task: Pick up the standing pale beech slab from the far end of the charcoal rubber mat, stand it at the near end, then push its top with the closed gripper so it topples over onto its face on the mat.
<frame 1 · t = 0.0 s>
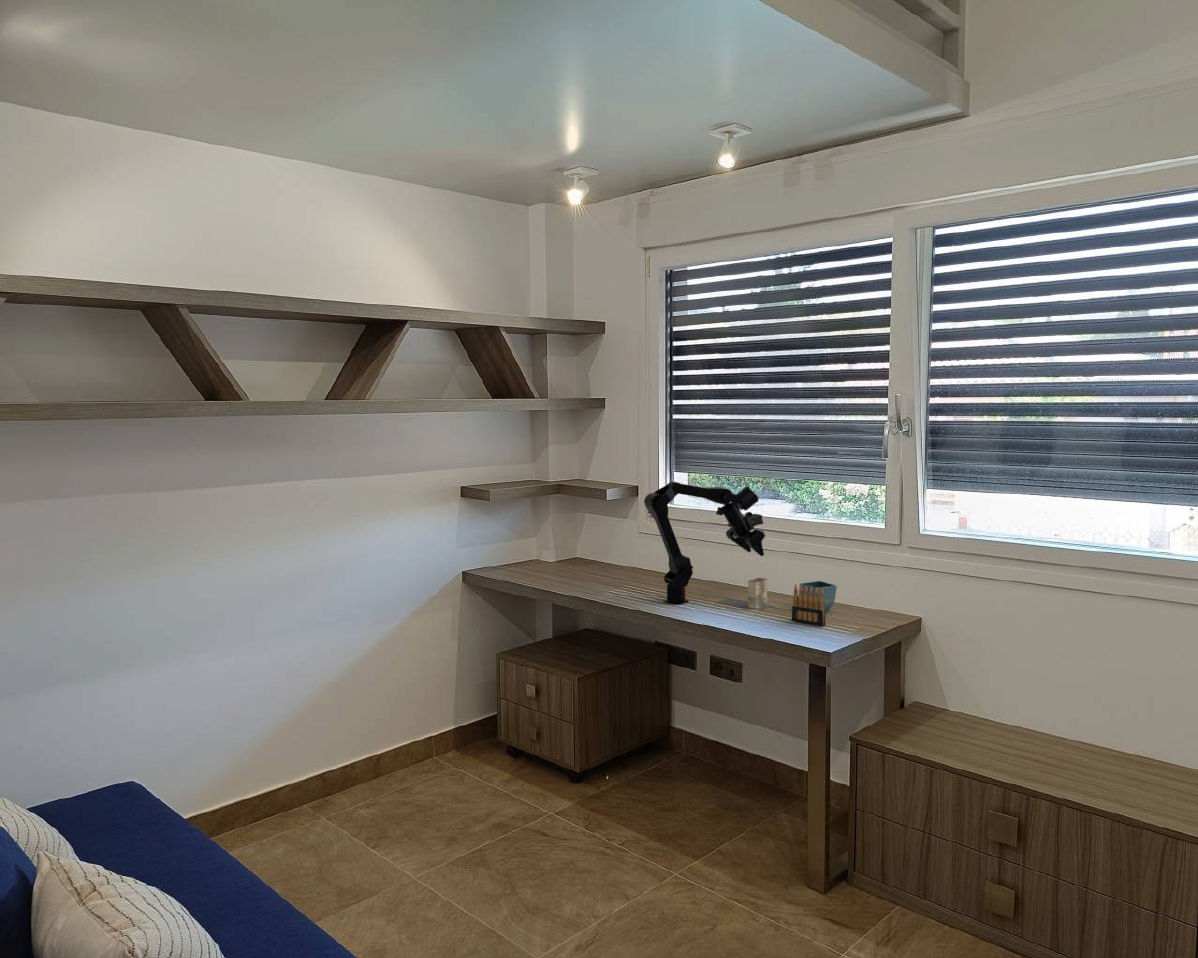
hand: (756, 553, 327), 15 cm above the table, tool tilted 35°, fingers open, 9 cm apart
ammunition clip: (808, 624, 286), on the table
flower pot: (817, 611, 302), on the table
mat: (745, 605, 312), on the table
slab: (757, 606, 308), resting on mat
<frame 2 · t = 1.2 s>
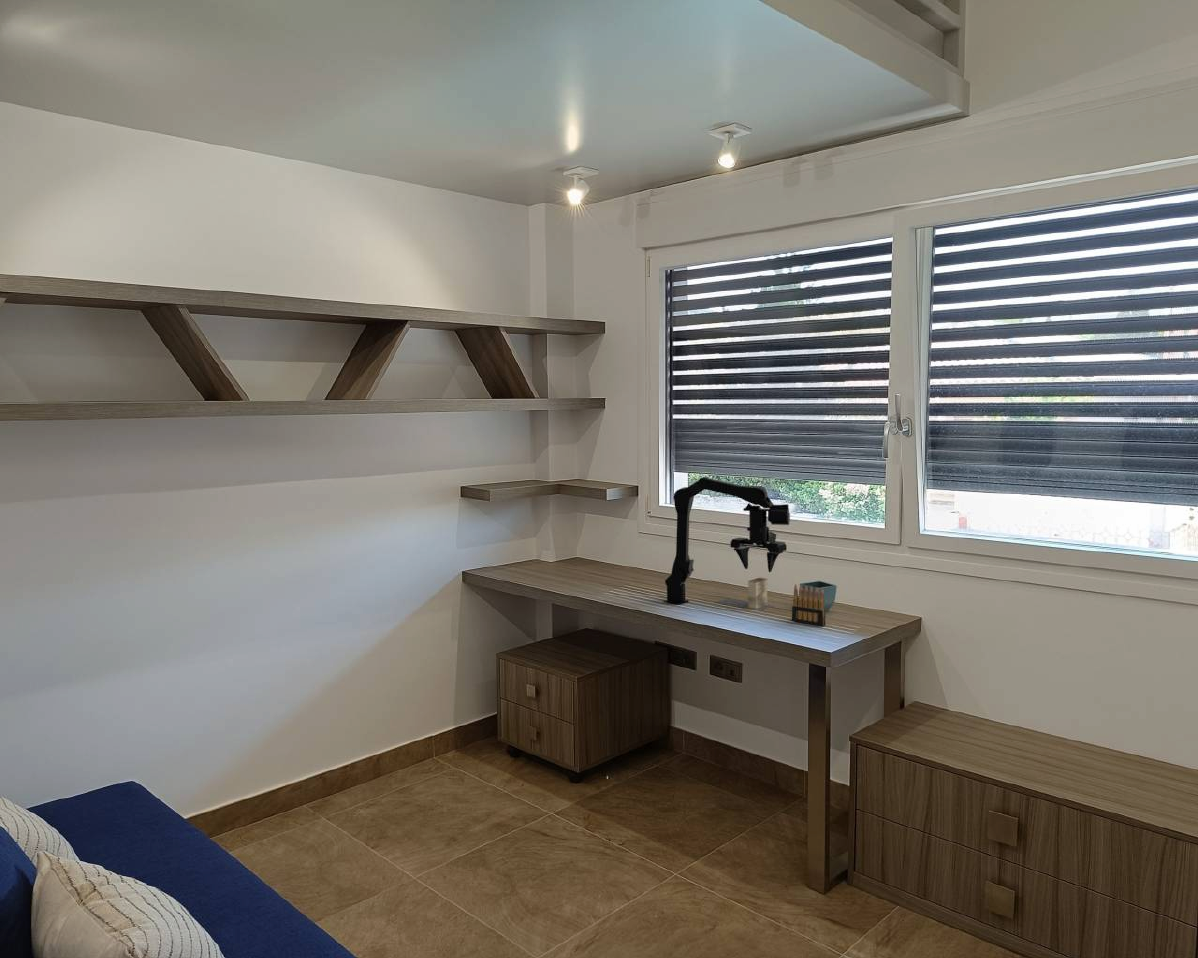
hand: (758, 570, 308), 13 cm above the table, tool pointing down, fingers open, 9 cm apart
nothing on the table moved.
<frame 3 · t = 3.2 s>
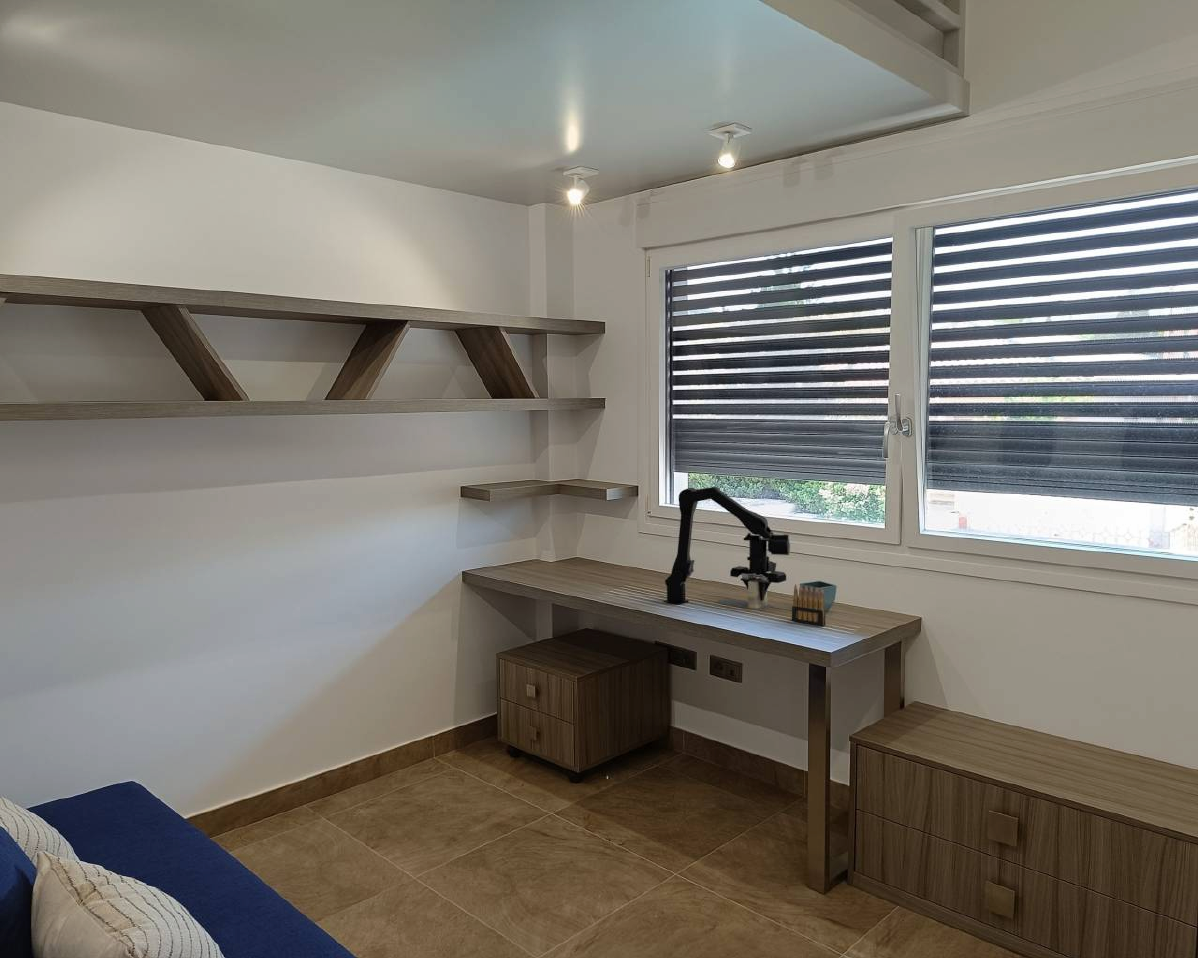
hand: (757, 599, 308), 3 cm above the table, tool pointing down, fingers closed on slab, 3 cm apart
slab: (757, 606, 308), resting on mat, touching gripper
everything else where it was.
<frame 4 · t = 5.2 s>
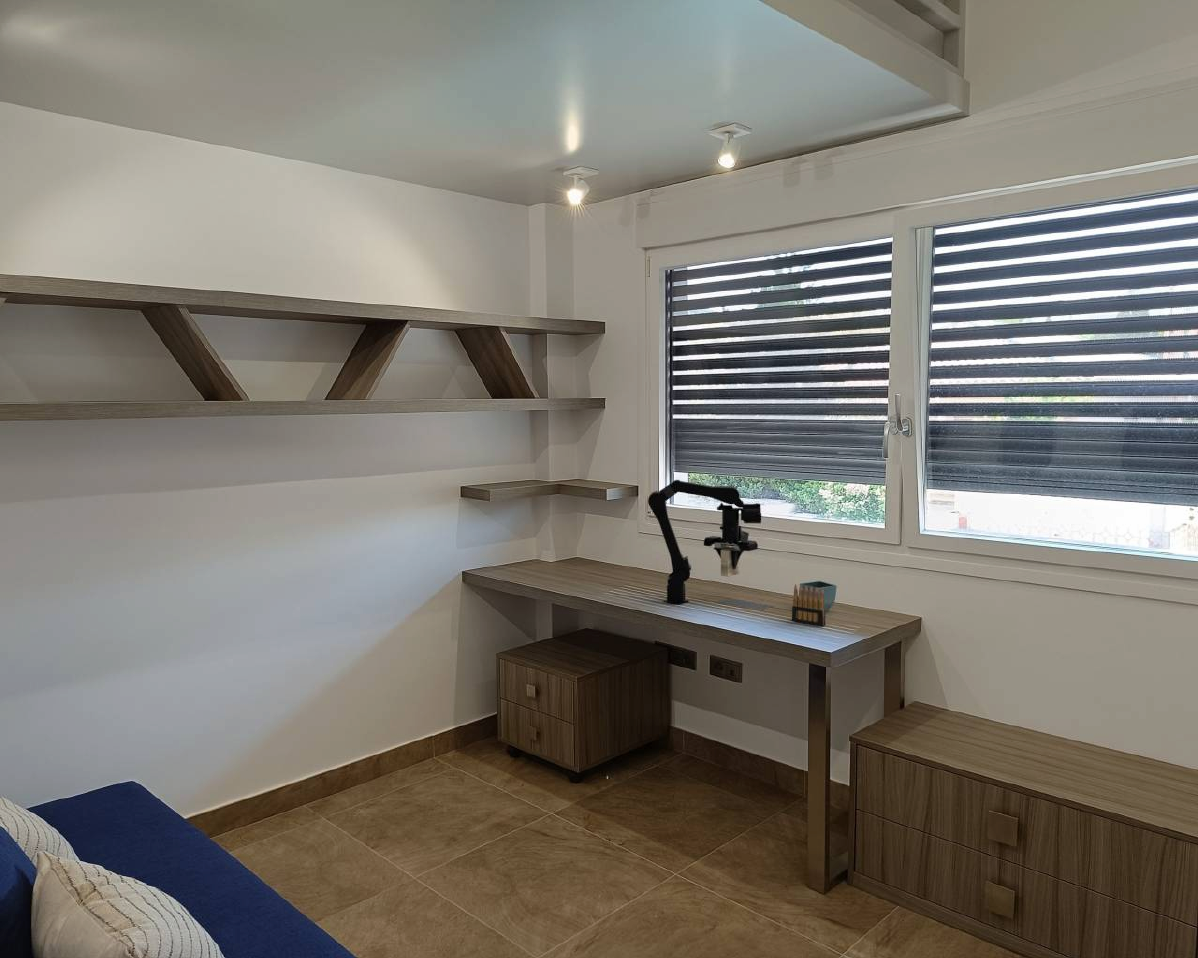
hand: (730, 568, 315), 12 cm above the table, tool pointing down, fingers closed on slab, 3 cm apart
slab: (730, 574, 315), point 10 cm above the table, touching gripper
everything else where it was.
when the fingers open (3 cm above the table, at t = 7.3 s): slab stays where it is, resting on mat.
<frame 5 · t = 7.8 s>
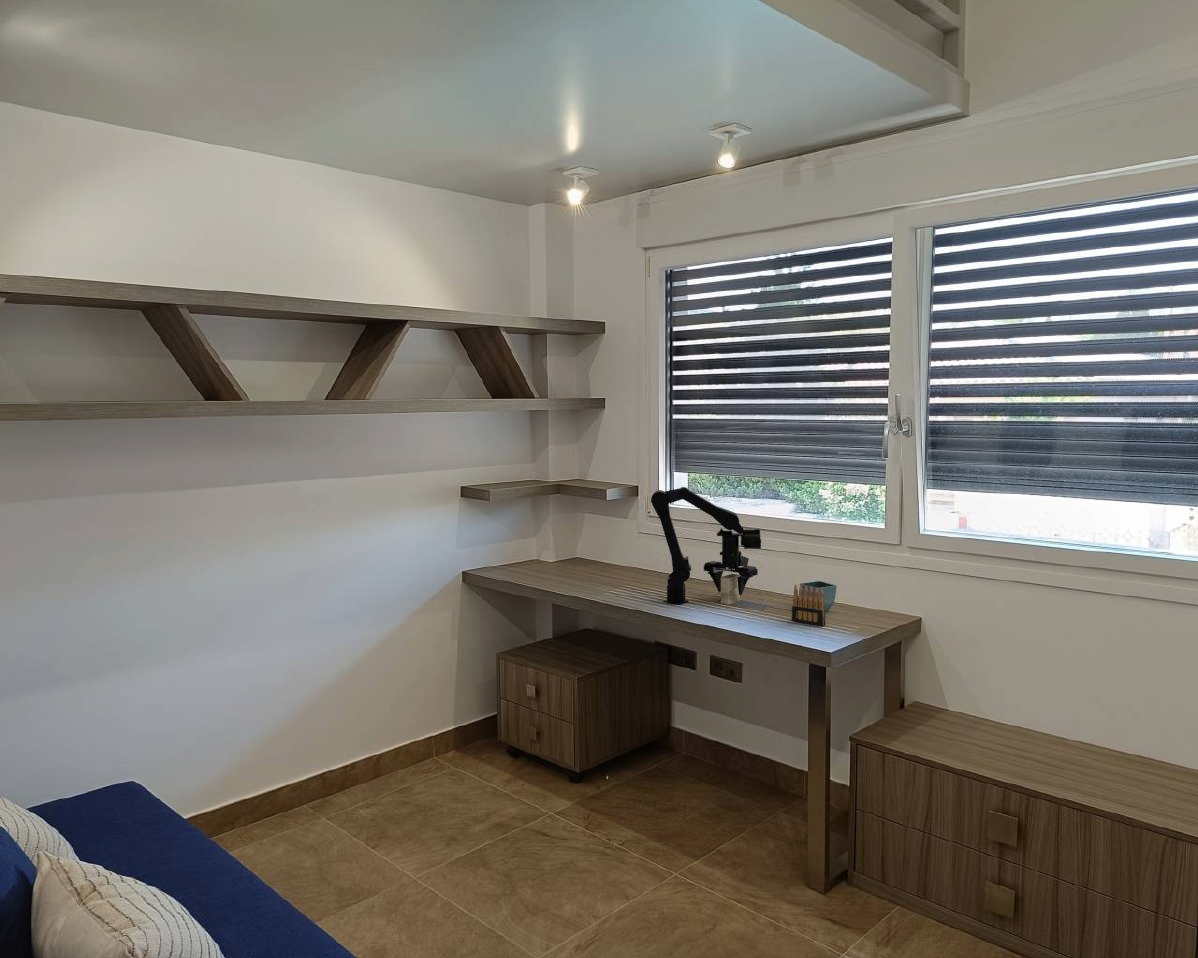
hand: (730, 593, 315), 3 cm above the table, tool pointing down, fingers open, 8 cm apart
slab: (730, 601, 316), resting on mat
everything else where it was.
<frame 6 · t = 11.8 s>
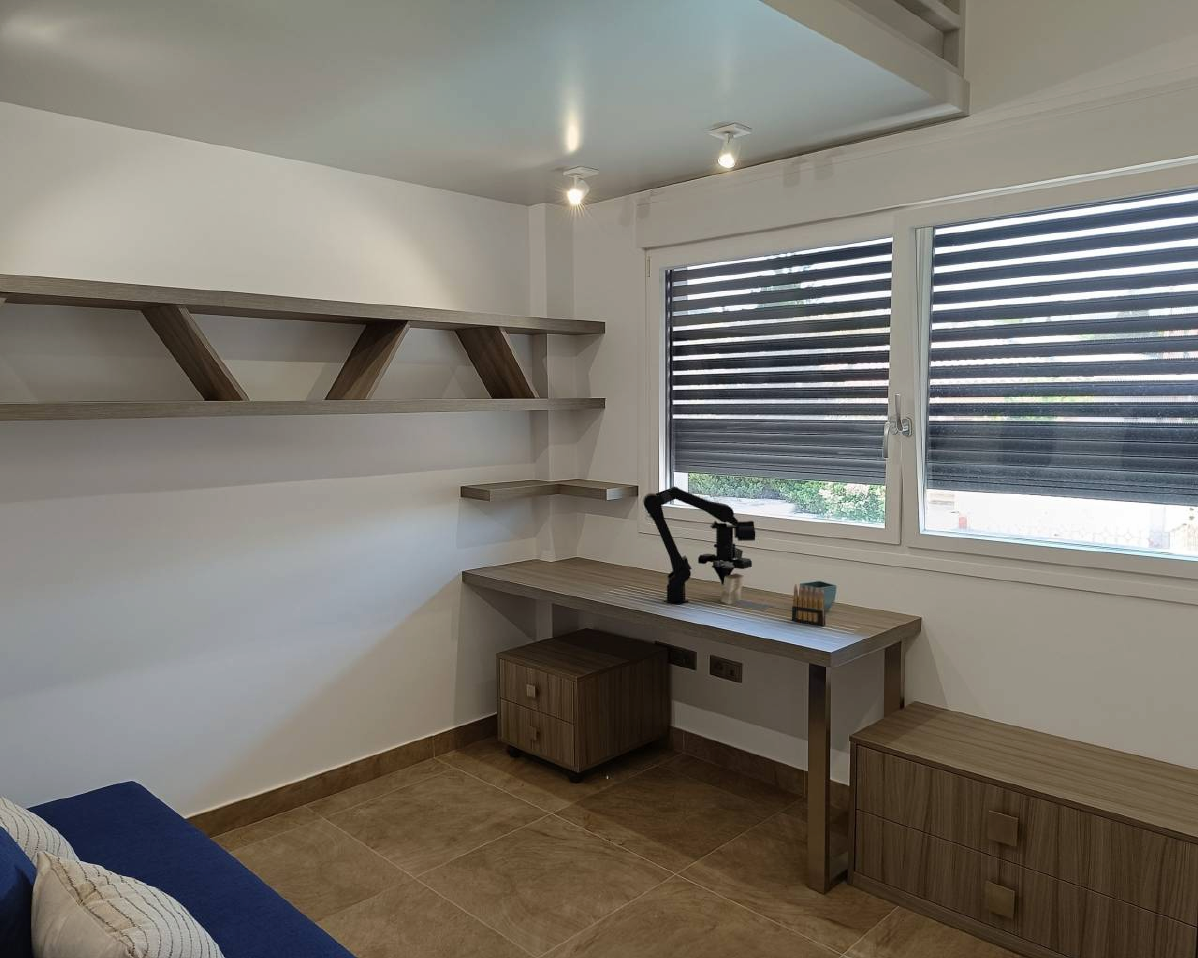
hand: (724, 585, 317), 6 cm above the table, tool pointing down, fingers closed
slab: (730, 600, 316), point 1 cm above the table, tilted 10°, touching mat
everything else where it was.
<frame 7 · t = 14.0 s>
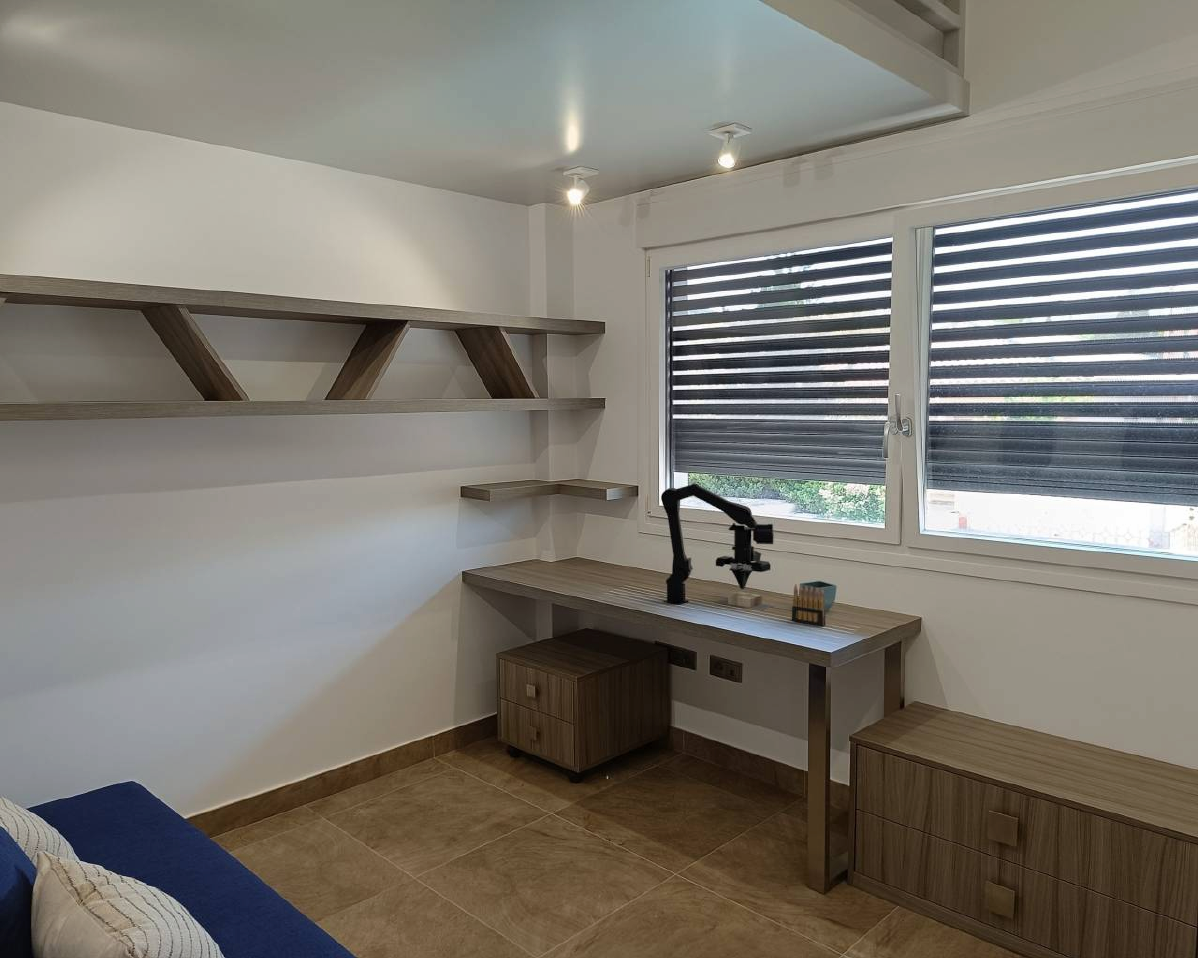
hand: (742, 588, 312), 5 cm above the table, tool pointing down, fingers closed
slab: (734, 597, 315), point 2 cm above the table, tilted 90°, touching mat
everything else where it was.
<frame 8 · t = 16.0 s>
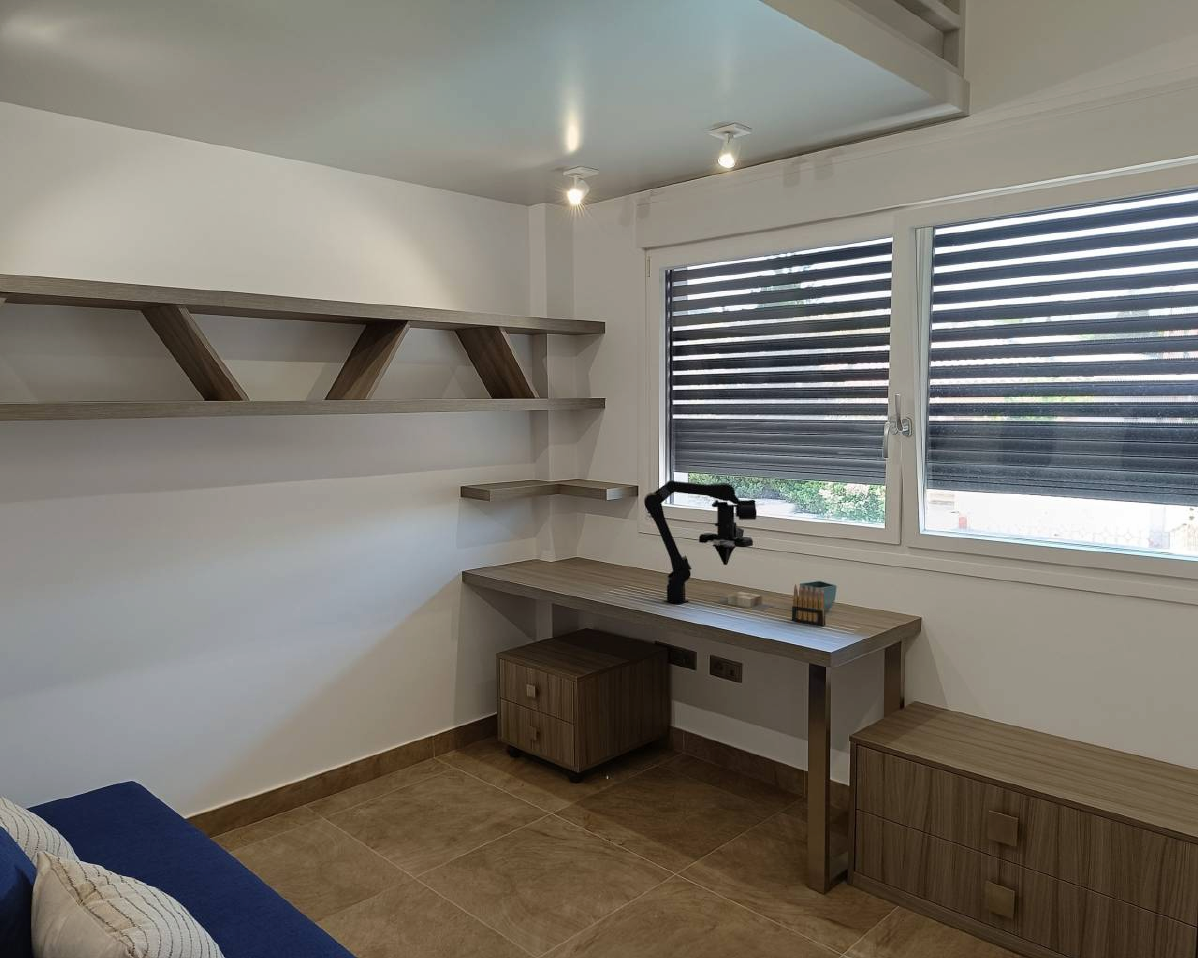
hand: (725, 564, 316), 13 cm above the table, tool pointing down, fingers closed
nothing on the table moved.
at the end: slab tilted 90°; slab inside the target area on the mat (4.5 cm from its centre), point 1.9 cm above the mat's base; the gripper is holding nothing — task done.
